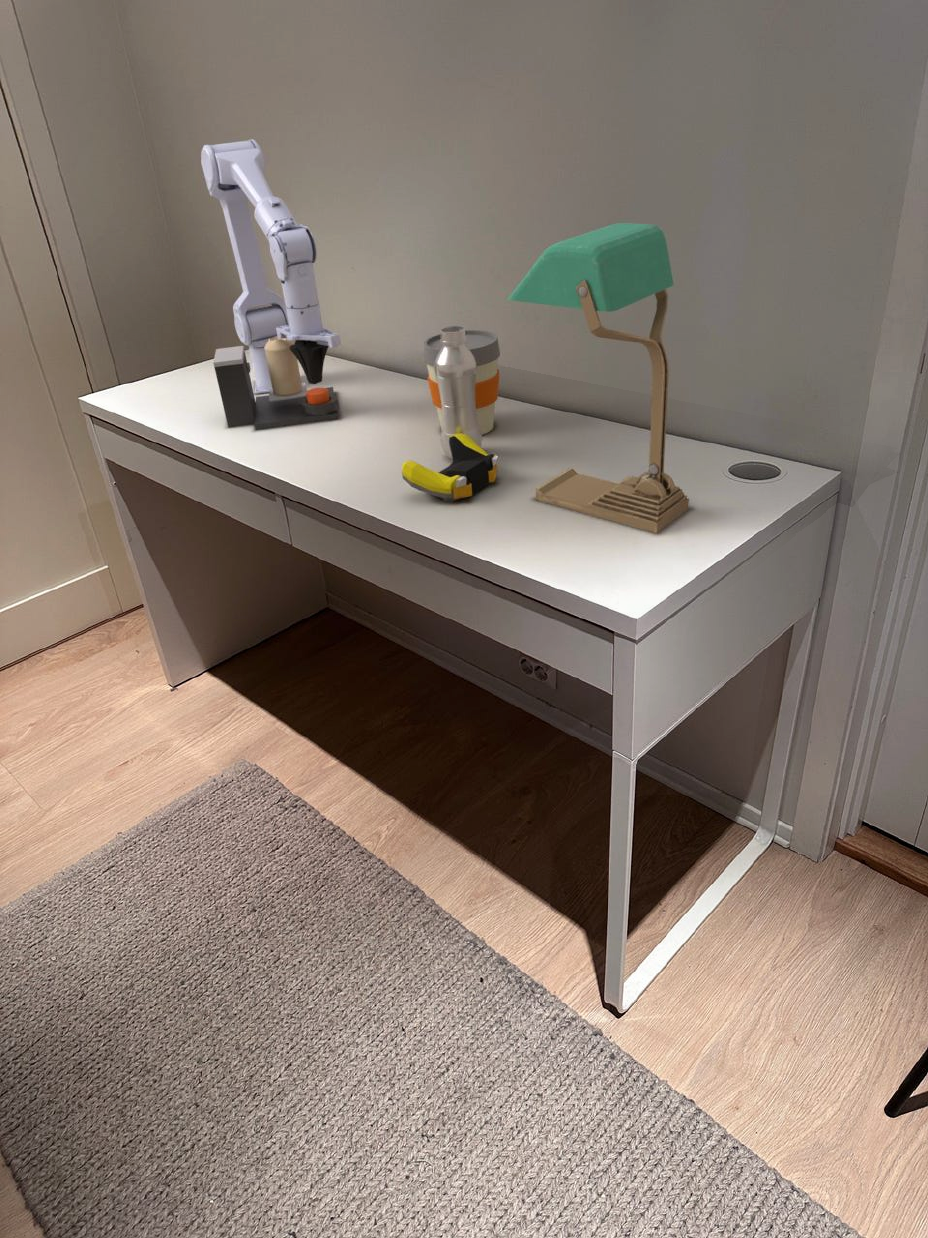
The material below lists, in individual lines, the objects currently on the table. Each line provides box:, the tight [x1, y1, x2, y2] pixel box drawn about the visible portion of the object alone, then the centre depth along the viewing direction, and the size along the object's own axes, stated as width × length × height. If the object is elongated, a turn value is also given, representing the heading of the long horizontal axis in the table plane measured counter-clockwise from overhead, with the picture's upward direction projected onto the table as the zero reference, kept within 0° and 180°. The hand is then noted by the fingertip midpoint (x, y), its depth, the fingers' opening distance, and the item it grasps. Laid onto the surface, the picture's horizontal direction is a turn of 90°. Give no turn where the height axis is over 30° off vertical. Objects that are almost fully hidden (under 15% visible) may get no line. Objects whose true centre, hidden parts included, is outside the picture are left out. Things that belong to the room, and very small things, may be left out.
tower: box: [212, 345, 308, 428], centre depth 162 cm, size 10×15×12 cm
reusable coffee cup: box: [423, 329, 501, 436], centre depth 146 cm, size 13×13×15 cm
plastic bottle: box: [434, 325, 483, 459], centre depth 135 cm, size 6×7×20 cm
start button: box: [306, 386, 330, 404], centre depth 159 cm, size 4×4×2 cm
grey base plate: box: [253, 386, 340, 431], centre depth 164 cm, size 16×15×3 cm
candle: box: [264, 336, 303, 396], centre depth 162 cm, size 6×6×10 cm
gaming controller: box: [401, 433, 499, 502], centre depth 129 cm, size 15×6×10 cm
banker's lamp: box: [507, 222, 690, 534], centre depth 112 cm, size 16×21×35 cm
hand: (315, 382), depth 158 cm, fingers closed
